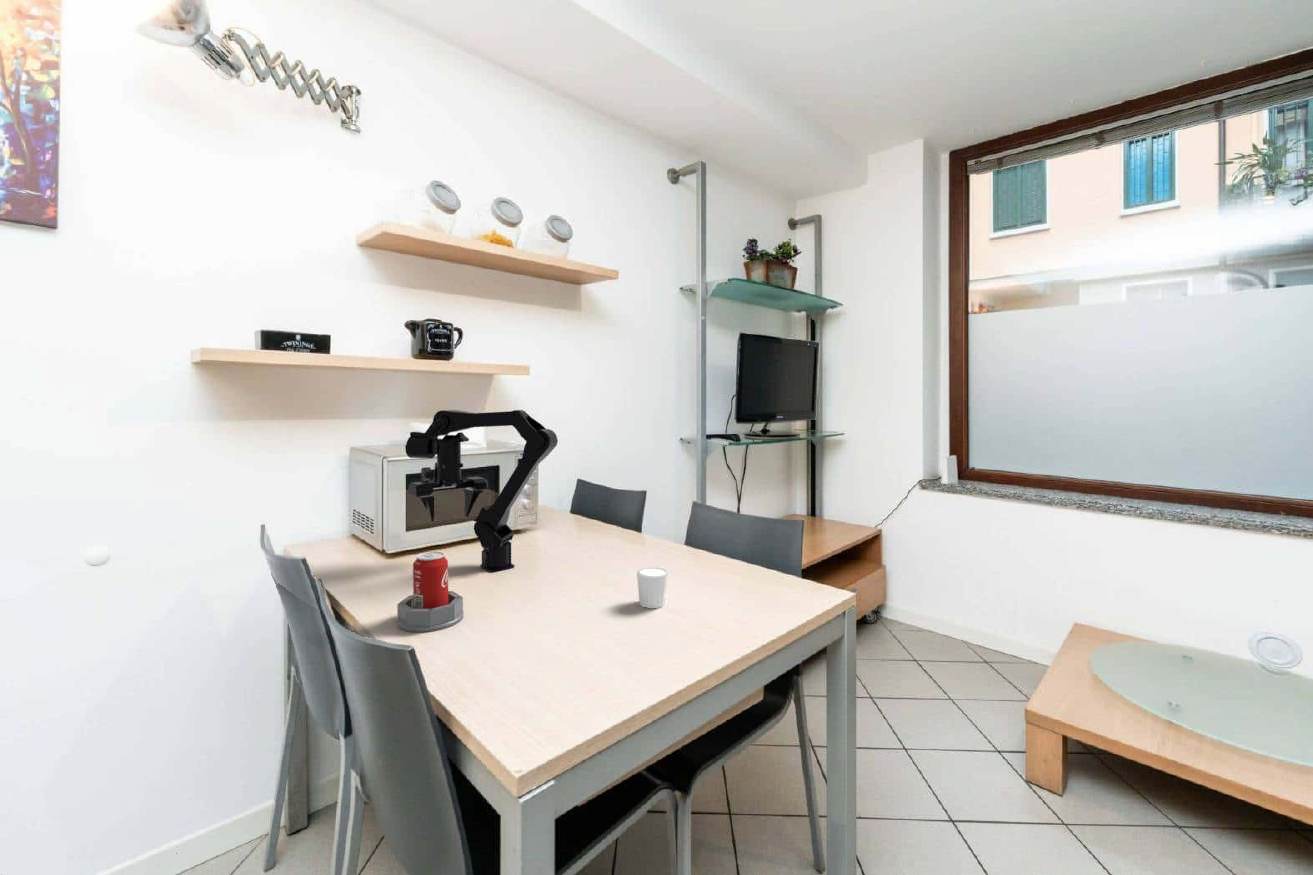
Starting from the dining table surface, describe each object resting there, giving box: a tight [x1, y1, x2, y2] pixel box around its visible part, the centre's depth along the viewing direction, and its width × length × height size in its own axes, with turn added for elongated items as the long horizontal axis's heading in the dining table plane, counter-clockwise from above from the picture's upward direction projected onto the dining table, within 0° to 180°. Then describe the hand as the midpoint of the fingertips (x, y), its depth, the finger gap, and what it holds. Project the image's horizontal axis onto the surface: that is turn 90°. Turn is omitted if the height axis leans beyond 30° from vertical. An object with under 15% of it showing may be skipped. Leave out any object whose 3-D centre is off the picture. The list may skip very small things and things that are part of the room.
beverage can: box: [412, 551, 449, 609], centre depth 108 cm, size 6×6×12 cm
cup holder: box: [396, 590, 464, 633], centre depth 108 cm, size 12×12×4 cm
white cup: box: [636, 567, 670, 609], centre depth 118 cm, size 7×7×7 cm
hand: (449, 519), depth 143 cm, fingers open, 9 cm apart
